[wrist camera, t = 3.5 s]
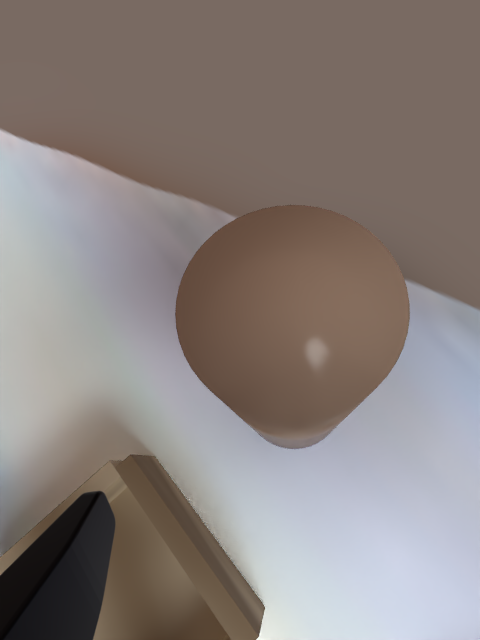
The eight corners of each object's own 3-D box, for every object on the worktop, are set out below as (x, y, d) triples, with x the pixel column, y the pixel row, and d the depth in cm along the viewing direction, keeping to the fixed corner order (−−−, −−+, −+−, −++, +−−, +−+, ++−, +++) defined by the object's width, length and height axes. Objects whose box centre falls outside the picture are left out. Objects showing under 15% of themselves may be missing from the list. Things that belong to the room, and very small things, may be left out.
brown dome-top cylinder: (290, 470, 18) (283, 477, 7) (225, 395, 20) (132, 300, 8) (362, 402, 19) (462, 304, 7) (293, 334, 20) (291, 169, 9)
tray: (103, 788, 15) (60, 861, 12) (1, 582, 18) (-53, 603, 15) (271, 616, 16) (266, 647, 13) (150, 449, 19) (125, 447, 16)
